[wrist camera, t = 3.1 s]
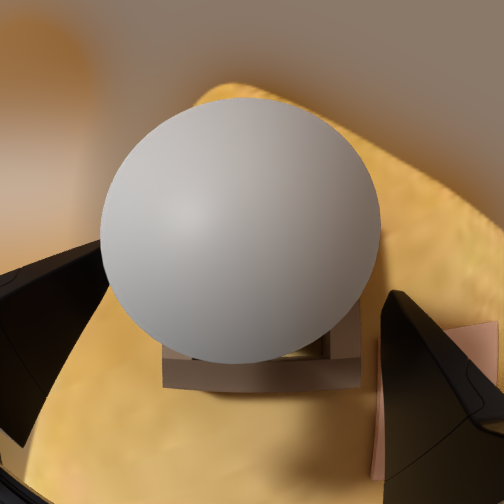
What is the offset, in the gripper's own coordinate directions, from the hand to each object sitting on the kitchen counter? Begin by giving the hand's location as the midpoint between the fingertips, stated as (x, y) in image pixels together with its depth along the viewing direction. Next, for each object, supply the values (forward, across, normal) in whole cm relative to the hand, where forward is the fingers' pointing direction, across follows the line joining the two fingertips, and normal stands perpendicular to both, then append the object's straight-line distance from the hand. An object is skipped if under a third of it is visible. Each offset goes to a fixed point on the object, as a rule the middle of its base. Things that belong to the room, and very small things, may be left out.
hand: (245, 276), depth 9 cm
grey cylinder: (+6, 0, +5) cm, 8 cm away
